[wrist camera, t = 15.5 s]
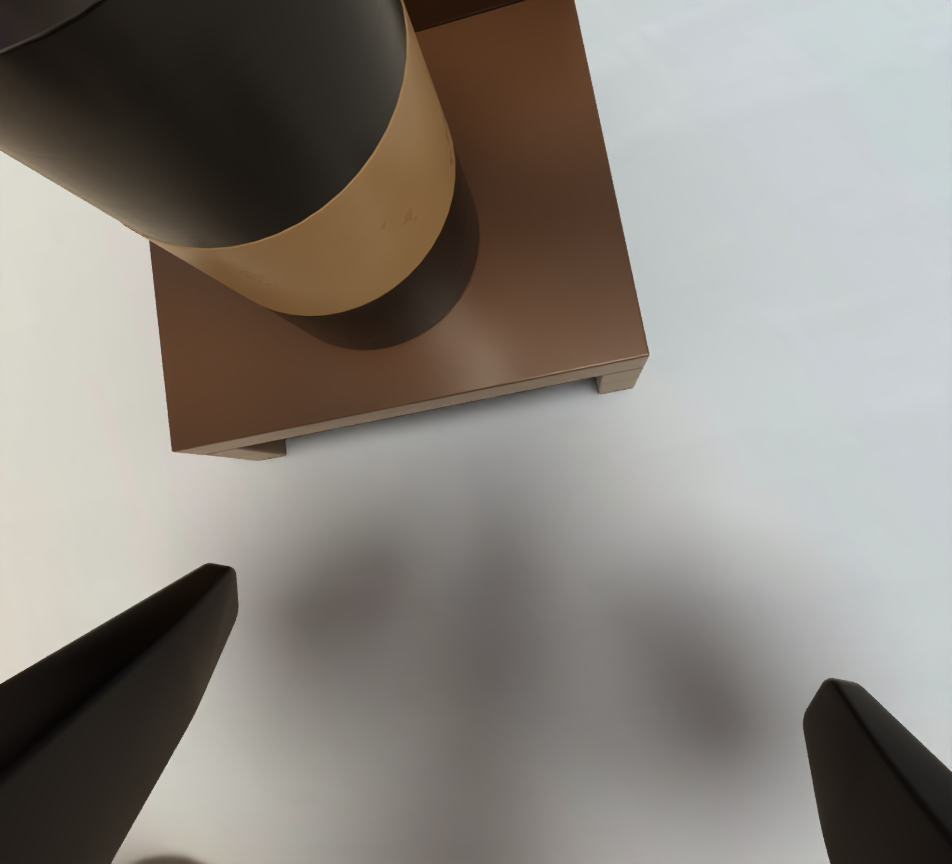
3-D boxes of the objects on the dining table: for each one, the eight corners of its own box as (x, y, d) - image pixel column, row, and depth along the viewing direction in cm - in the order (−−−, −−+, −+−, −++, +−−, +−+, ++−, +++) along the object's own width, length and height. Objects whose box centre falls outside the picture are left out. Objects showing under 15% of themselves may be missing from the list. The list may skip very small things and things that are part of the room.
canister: (420, 391, 17) (-28, 101, 5) (228, 300, 19) (-544, -125, 6) (522, 179, 17) (365, -682, 5) (324, 103, 19) (-224, -737, 6)
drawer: (633, 387, 21) (672, 312, 12) (257, 461, 23) (60, 440, 14) (568, 71, 23) (560, -197, 14) (220, 165, 25) (21, -17, 16)
